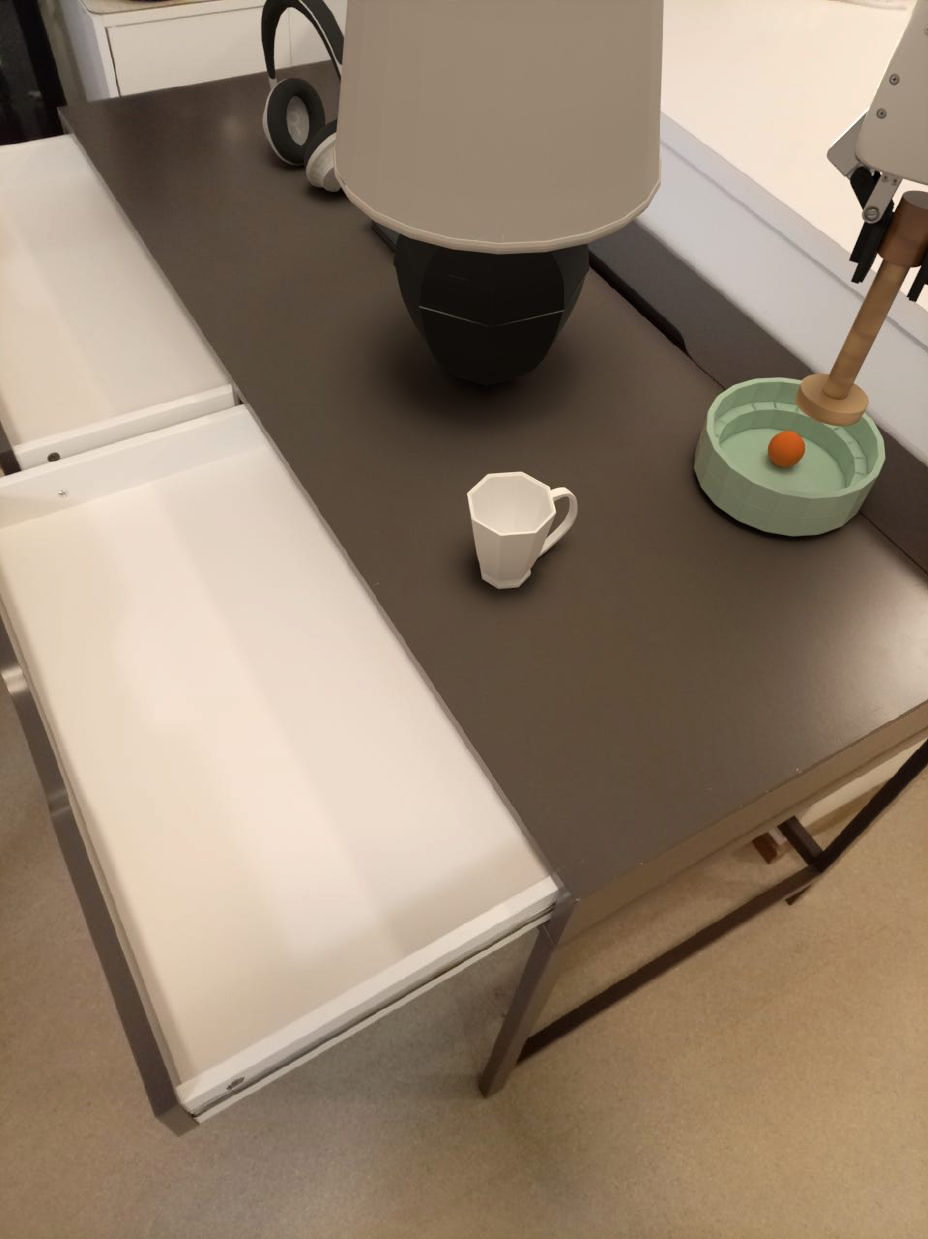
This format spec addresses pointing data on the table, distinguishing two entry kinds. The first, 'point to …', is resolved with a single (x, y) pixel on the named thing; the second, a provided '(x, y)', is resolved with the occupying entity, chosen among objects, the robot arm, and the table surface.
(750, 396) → the bowl
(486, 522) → the cup
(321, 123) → the headphones
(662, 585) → the table surface
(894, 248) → the brown long flanged bar
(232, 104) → the table surface
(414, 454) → the table surface
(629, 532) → the table surface
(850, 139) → the robot arm
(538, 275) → the table lamp
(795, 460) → the ball
